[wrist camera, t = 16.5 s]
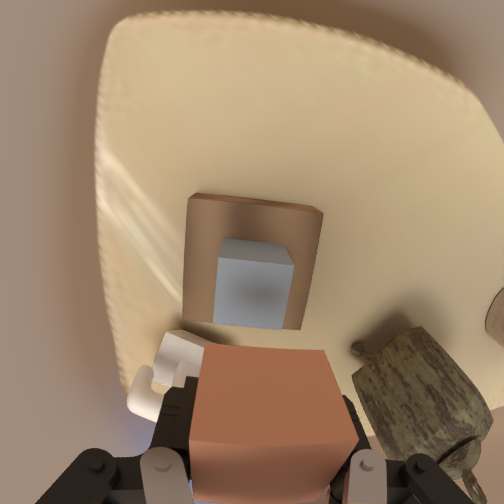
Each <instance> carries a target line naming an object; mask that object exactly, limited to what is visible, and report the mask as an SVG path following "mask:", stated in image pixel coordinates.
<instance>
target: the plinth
mask: <svg viewBox="0 0 504 504" xmlns="http://www.w3.org/2000/svg"><path fill="white" fill-rule="evenodd" d="M322 220H323V213H322V212H320V211H319V210H317V209H315V208H314V207H312V206H305V205H298V204H291V203H283V202H275V201H267V200H259V199H250V198H241V197H231V196H222V195H211V194H201V193H195V194H194V195H192V196H191V197H189V198H188V205H187V219H186V234H185V252H184V274H183V313H182V319H183V320H191V321H200V322H208V323H213V314H214V302H215V290H216V279H217V268H218V257H219V253H220V249H221V245H222V241H223V238H229V239H238V240H247V241H255V242H264V243H272V244H281V245H284V246H285V248H286V250H287V252H288V254H289V256H290V258H291V260H292V262H293V264H294V271H293V276H292V281H291V286H290V292H289V297H288V302H287V307H286V312H285V317H284V321H283V326H282V329H291V330H301V325H302V321H303V316H304V312H305V307H306V303H307V298H308V294H309V289H310V284H311V279H312V274H313V269H314V264H315V259H316V254H317V248H318V243H319V237H320V232H321V226H322Z"/></svg>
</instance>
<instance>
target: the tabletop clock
mask: <svg viewBox="0 0 504 504" xmlns="http://www.w3.org/2000/svg"><path fill="white" fill-rule="evenodd" d="M351 352H352V354H353V355H354V356H360V355H363V356H364V357H366V358H367V359H369V360H370V361H369V362H367V363H366V364H365V365H364V366H363V367H361V368H360V369H359V370H358V371H356V372H355V373H354V374H353V375H352V380H353V383H354V386H355V389H356V392H357V394H358V397H359V399H360V402H361V404H362V406H363V409H364V411H365V413H366V415H367V418H368V420H369V422H370V424H371V426H372V428H373V430H374V432H375V435H376V437H377V439H378V441H379V442H380V444H381V446H382V448H383V450H384V452H385V454H386V455H387V457H388V458H389V460H399V461H406V460H407V459H408V458H409V457H410V456H411V455H413V454H416V453H423V454H426V455H428V456H430V457H431V458H432V459H433V460H434V461H435V462H436V463H437V464H438V465H439V466H440V467H441V468H442V469H443V471H444V472H445V473H446V474H447V475H448V476H449V477H450V478H451V479H452V480H456V479H459V478H460V477H462V478H463V482H464V484H465V487H466V488H467V491H468V493H469V495H470V496H471V498H472V500H473V501H474V503H475V504H486V503H487V499H486V496H485V495H484V493H483V491H482V489H481V487H480V486H479V484H478V483H477V480H476V478H475V476H474V474H473V473H472V471H471V469H472V468H473V467H474V466H475V465H476V464H477V463H478V460H479V457H480V454H481V443H480V442H481V441H483V440H484V439H485V437H486V435H487V433H488V432H489V430H490V427H491V425H492V423H493V418H492V415H491V412H490V410H489V408H488V406H487V404H486V402H485V400H484V398H483V397H482V395H481V393H480V392H479V390H478V389H477V388H476V386H475V385H474V384H473V383H472V381H471V380H470V379H469V378H468V376H467V375H466V374H465V373H464V372H463V371H462V369H461V368H460V367H459V366H458V365H457V364H456V363H455V361H454V360H453V359H452V358H451V357H450V356H449V355H448V354H447V352H446V351H445V350H444V349H443V348H442V347H441V346H440V345H439V344H438V343H437V342H436V341H435V340H434V338H433V337H432V336H431V335H430V334H429V333H428V332H427V331H426V330H425V329H424V328H422V327H417V328H413V329H409V330H405V331H402V332H401V333H400V334H399V335H398V336H397V337H396V338H395V339H394V340H393V341H392V342H390V343H389V344H388V345H387V346H386V347H385V348H384V349H383V350H381V351H380V352H379V353H378V354H377V355H376V356H375V355H373V354H371V353H368V352H366V351H364V347H363V345H362V344H360V343H356V344H354V345H353V346H352V347H351ZM472 486H474V487H475V488H476V490H477V492H478V494H479V495H478V494H477V493H476V492H475V491H474V489H473V487H472Z"/></svg>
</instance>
